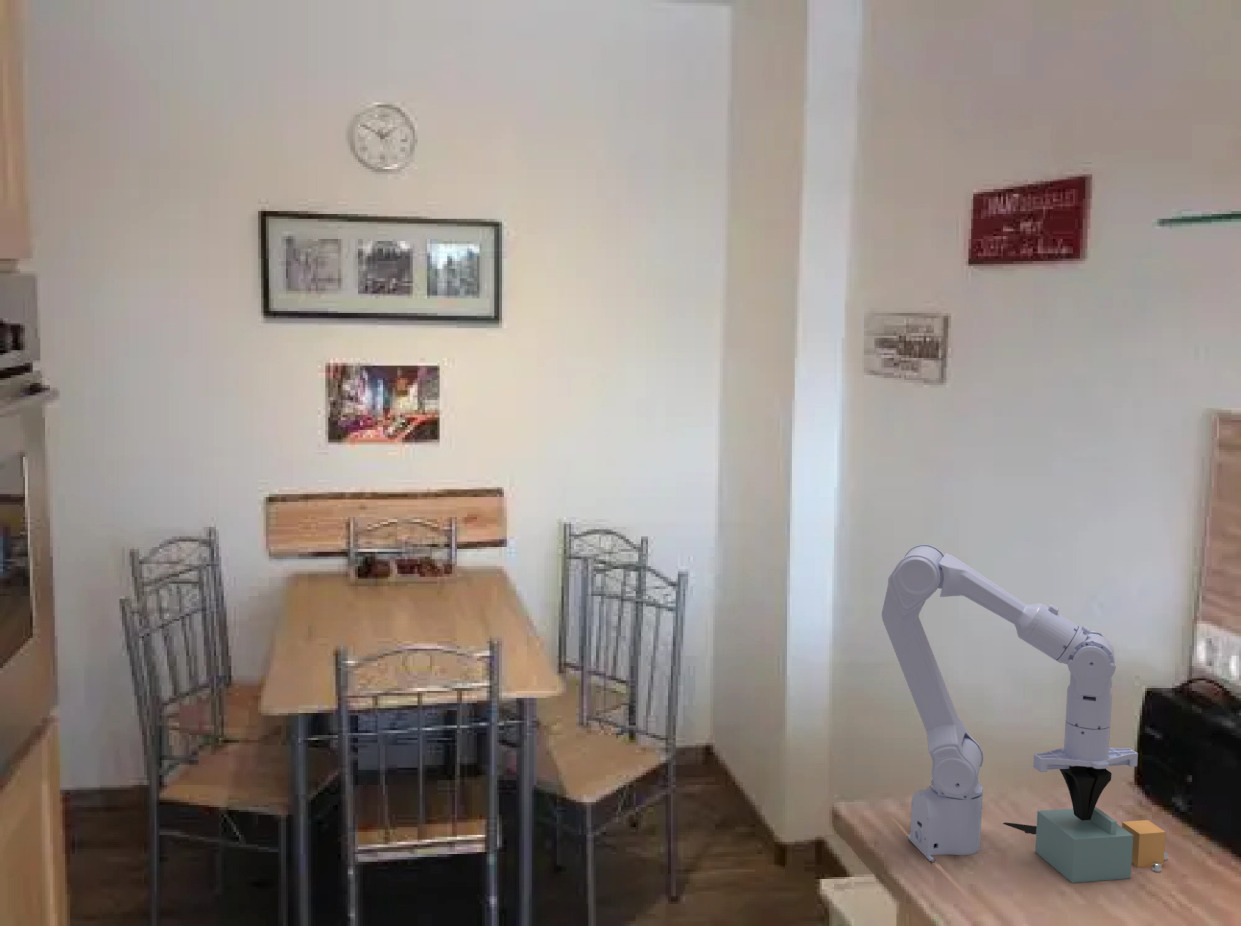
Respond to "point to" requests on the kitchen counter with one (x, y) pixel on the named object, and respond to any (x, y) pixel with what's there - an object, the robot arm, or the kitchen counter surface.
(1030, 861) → the kitchen counter surface
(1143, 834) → the orange-brown block
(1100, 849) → the housing cover
